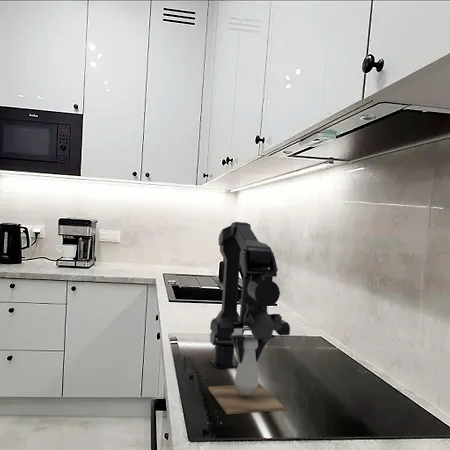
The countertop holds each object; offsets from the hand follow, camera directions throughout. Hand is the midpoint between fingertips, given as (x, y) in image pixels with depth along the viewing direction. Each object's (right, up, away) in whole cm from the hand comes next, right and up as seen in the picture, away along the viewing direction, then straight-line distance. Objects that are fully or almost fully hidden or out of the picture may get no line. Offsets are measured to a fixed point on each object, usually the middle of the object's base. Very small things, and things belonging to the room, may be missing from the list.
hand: (247, 362), depth 100 cm
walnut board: (-1, -9, 0) cm, 9 cm away
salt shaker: (-1, -7, 0) cm, 7 cm away
